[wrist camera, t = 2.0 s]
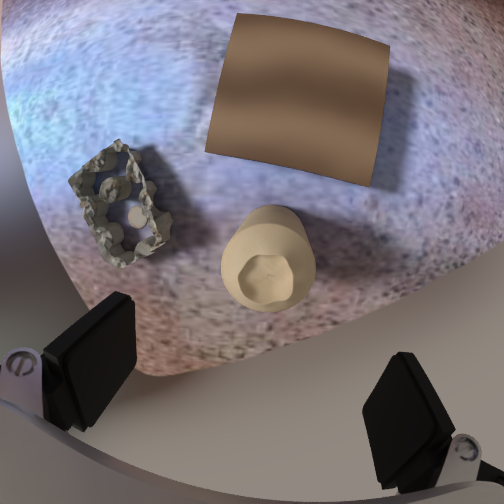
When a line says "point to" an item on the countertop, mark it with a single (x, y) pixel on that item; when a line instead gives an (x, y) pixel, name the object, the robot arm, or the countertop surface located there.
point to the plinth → (300, 97)
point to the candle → (269, 260)
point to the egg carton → (117, 190)
